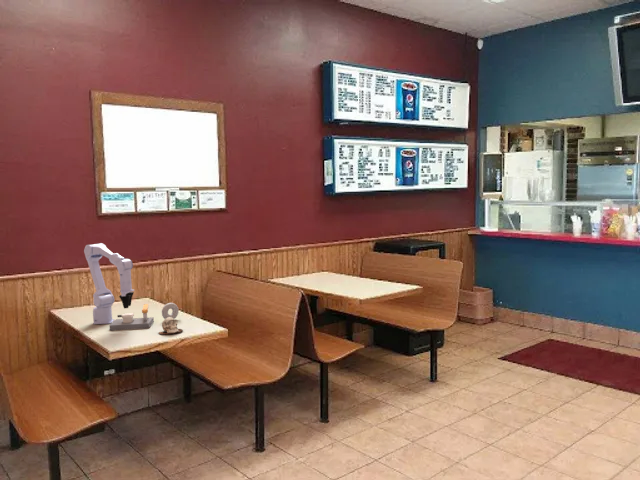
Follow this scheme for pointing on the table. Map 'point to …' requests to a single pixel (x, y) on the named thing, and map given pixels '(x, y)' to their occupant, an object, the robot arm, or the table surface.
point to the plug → (127, 317)
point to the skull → (170, 326)
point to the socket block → (136, 324)
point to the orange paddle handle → (145, 308)
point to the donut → (167, 307)
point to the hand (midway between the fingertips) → (127, 307)
